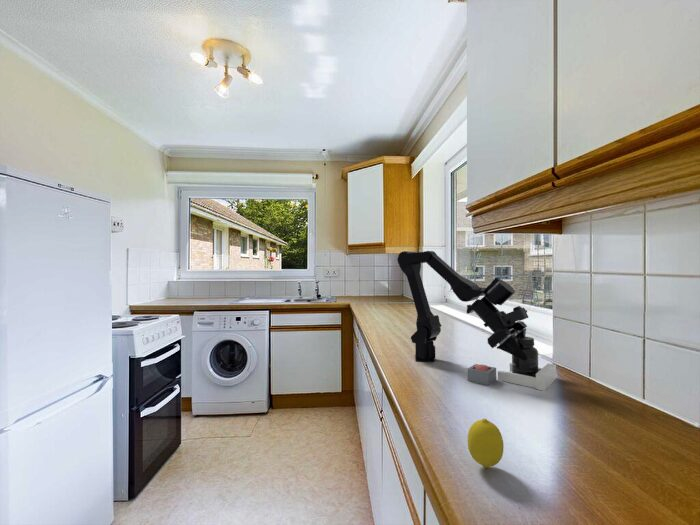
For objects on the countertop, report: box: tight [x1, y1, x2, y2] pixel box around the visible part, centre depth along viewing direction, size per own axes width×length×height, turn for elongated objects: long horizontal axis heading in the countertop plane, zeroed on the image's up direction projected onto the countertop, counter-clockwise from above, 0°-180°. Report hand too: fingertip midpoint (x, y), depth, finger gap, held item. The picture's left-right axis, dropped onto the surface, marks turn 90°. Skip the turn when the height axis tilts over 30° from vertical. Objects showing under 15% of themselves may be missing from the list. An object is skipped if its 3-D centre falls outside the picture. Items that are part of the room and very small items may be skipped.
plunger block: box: [466, 363, 497, 386], centre depth 98 cm, size 6×6×4 cm
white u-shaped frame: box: [497, 362, 557, 391], centre depth 99 cm, size 12×13×4 cm
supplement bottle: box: [511, 335, 539, 377], centre depth 99 cm, size 7×7×12 cm
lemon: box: [467, 418, 504, 469], centre depth 56 cm, size 6×6×8 cm
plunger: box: [474, 363, 488, 371], centre depth 98 cm, size 4×4×4 cm
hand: (530, 357), depth 98 cm, fingers closed on supplement bottle, 7 cm apart
